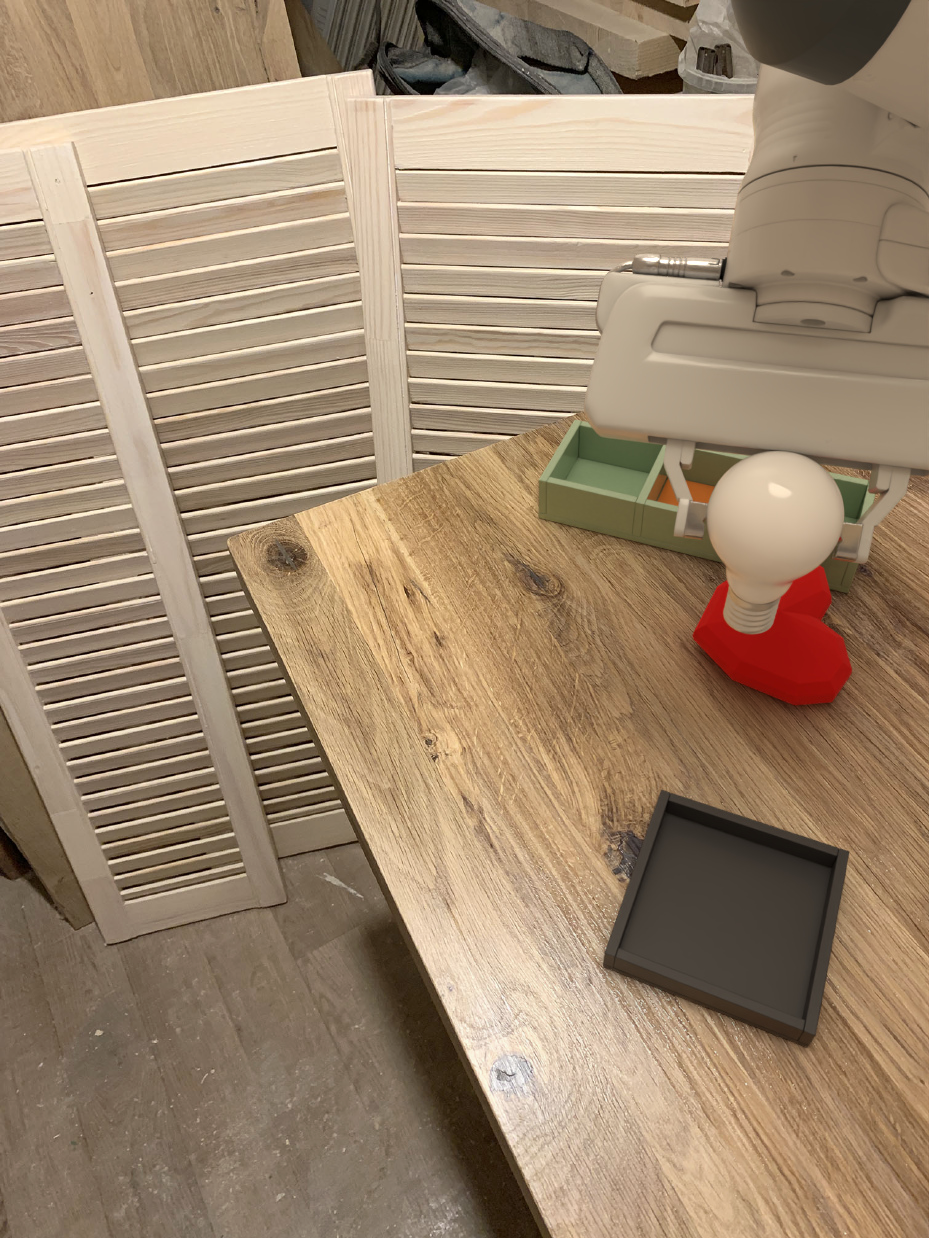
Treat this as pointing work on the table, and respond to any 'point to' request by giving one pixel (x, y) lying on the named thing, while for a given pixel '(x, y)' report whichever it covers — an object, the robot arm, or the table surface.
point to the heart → (782, 645)
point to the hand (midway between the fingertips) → (767, 549)
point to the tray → (731, 916)
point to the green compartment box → (654, 494)
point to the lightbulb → (771, 531)
